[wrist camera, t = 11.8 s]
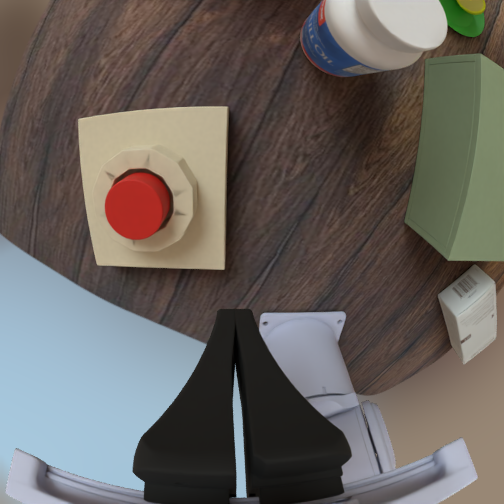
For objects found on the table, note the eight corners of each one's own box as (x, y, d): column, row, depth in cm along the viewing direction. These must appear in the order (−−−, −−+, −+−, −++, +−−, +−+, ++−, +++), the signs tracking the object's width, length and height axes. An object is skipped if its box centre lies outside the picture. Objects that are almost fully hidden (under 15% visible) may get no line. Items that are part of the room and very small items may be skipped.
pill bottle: (289, 13, 14) (330, -54, 5) (360, 11, 13) (437, -34, 5) (308, 83, 16) (371, 62, 8) (378, 77, 16) (470, 69, 7)
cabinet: (500, 97, 15) (549, 107, 10) (477, 229, 22) (518, 261, 16) (424, 58, 15) (480, 53, 9) (403, 221, 21) (447, 260, 15)
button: (171, 228, 17) (165, 241, 15) (119, 228, 17) (108, 240, 15) (169, 171, 15) (161, 178, 14) (113, 173, 15) (100, 180, 14)
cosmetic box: (496, 282, 20) (499, 338, 24) (473, 260, 24) (483, 318, 28) (453, 319, 22) (465, 367, 26) (433, 293, 26) (450, 345, 30)
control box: (226, 255, 22) (223, 284, 19) (107, 252, 22) (87, 278, 18) (229, 107, 17) (226, 105, 13) (92, 117, 16) (63, 121, 13)
